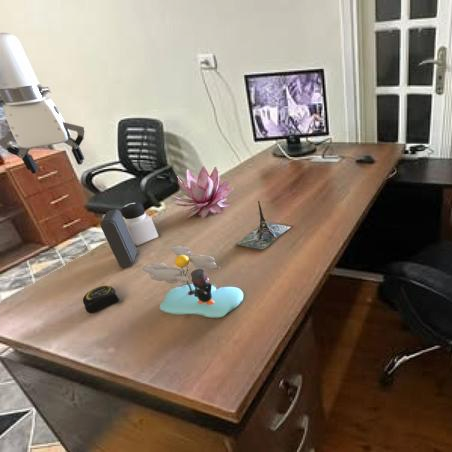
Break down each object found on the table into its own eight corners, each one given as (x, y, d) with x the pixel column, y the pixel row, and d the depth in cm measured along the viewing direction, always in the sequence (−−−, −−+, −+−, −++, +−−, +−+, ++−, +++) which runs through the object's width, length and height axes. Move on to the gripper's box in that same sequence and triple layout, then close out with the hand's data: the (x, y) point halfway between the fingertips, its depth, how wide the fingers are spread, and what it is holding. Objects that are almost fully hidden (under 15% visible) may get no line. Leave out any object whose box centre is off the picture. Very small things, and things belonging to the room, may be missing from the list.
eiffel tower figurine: (265, 222, 117) (258, 185, 111) (291, 227, 113) (284, 189, 107) (237, 245, 106) (226, 206, 99) (264, 251, 102) (255, 210, 95)
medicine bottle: (159, 236, 115) (146, 204, 109) (137, 246, 111) (122, 212, 105) (150, 230, 120) (138, 198, 114) (129, 239, 115) (115, 206, 109)
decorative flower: (185, 232, 116) (171, 190, 109) (173, 210, 133) (160, 173, 125) (246, 212, 126) (237, 172, 118) (227, 194, 142) (218, 158, 135)
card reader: (124, 253, 107) (104, 210, 100) (138, 250, 108) (120, 207, 101) (118, 269, 100) (97, 224, 92) (134, 266, 101) (113, 220, 93)
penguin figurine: (250, 293, 85) (237, 241, 78) (228, 325, 76) (210, 270, 69) (181, 285, 91) (162, 235, 83) (153, 314, 82) (129, 261, 74)
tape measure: (90, 319, 82) (83, 307, 80) (86, 304, 87) (80, 292, 85) (121, 305, 86) (115, 293, 84) (116, 291, 91) (111, 280, 89)
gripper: (70, 88, 85) (99, 156, 93) (-18, 99, 79) (21, 171, 87) (64, 91, 79) (96, 163, 87) (-32, 103, 73) (12, 180, 81)
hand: (58, 167), depth 87 cm, fingers open, 9 cm apart
